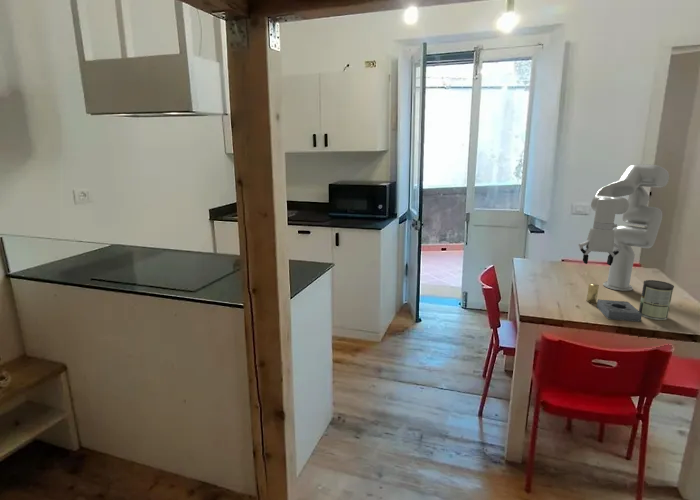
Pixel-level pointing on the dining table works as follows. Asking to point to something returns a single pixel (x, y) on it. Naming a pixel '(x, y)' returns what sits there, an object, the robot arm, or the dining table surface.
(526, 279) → the dining table surface
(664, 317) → the coffee can
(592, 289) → the gold rounded cylinder
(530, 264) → the dining table surface
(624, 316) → the jig
